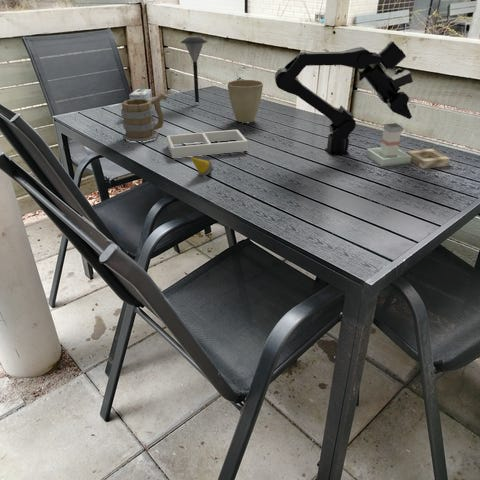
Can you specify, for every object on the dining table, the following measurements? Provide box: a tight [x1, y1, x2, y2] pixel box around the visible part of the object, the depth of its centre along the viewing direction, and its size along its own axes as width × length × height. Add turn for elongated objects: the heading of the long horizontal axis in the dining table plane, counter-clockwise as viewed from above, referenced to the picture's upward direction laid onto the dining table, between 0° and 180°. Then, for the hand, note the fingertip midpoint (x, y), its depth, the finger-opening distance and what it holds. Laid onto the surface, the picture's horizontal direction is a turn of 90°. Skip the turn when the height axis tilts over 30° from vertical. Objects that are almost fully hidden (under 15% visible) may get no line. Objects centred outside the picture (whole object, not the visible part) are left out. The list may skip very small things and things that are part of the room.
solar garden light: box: [180, 36, 208, 103], centre depth 207 cm, size 12×12×30 cm
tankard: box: [120, 93, 168, 142], centre depth 170 cm, size 20×13×15 cm, turn 131°
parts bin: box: [166, 129, 249, 159], centre depth 160 cm, size 27×14×4 cm, turn 105°
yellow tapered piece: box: [189, 157, 214, 177], centre depth 138 cm, size 5×5×10 cm
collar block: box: [406, 148, 451, 170], centre depth 148 cm, size 10×10×2 cm
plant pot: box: [227, 79, 264, 124], centre depth 186 cm, size 15×15×16 cm
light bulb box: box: [128, 88, 154, 107], centre depth 196 cm, size 11×7×11 cm, turn 172°
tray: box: [365, 147, 412, 168], centre depth 150 cm, size 11×11×2 cm
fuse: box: [379, 123, 404, 158], centre depth 147 cm, size 4×4×11 cm
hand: (406, 114), depth 149 cm, fingers open, 9 cm apart
